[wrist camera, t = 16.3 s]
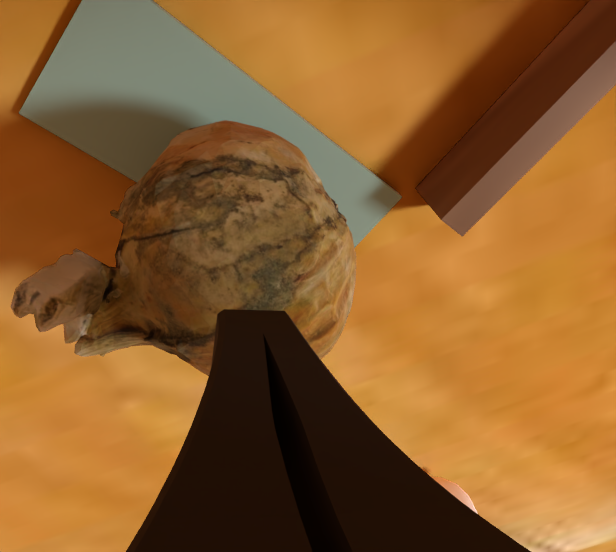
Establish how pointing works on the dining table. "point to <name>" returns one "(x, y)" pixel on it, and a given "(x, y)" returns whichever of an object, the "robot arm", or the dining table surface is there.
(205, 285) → the onion
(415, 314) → the dining table surface
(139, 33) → the panel
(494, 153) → the cart frame
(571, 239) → the dining table surface
